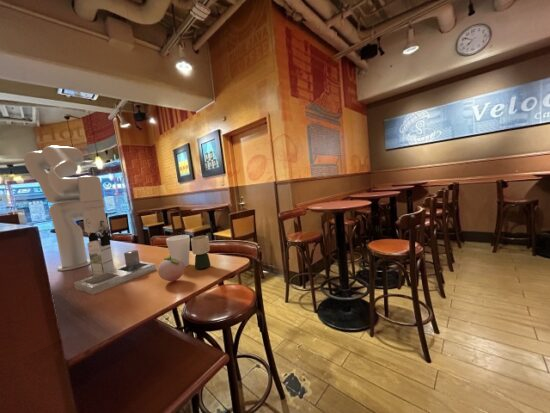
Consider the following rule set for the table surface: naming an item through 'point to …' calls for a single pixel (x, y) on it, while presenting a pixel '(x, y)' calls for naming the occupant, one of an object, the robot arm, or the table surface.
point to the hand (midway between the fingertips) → (100, 245)
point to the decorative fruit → (171, 269)
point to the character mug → (201, 251)
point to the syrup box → (100, 257)
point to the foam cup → (179, 248)
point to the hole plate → (116, 274)
